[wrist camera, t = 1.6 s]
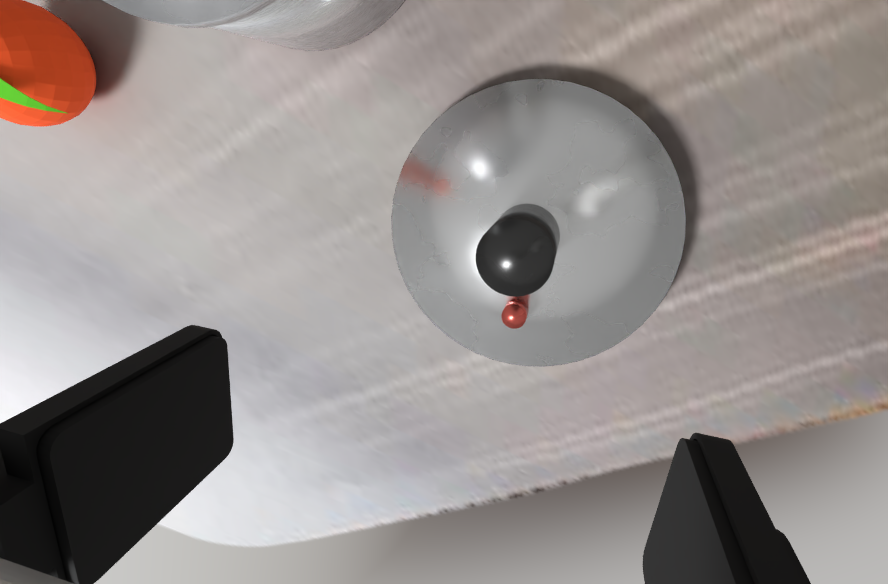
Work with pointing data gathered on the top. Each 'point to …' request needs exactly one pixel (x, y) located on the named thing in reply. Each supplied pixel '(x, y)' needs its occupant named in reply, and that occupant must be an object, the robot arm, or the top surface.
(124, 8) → the pot
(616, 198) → the lid
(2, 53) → the clementine
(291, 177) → the top surface
